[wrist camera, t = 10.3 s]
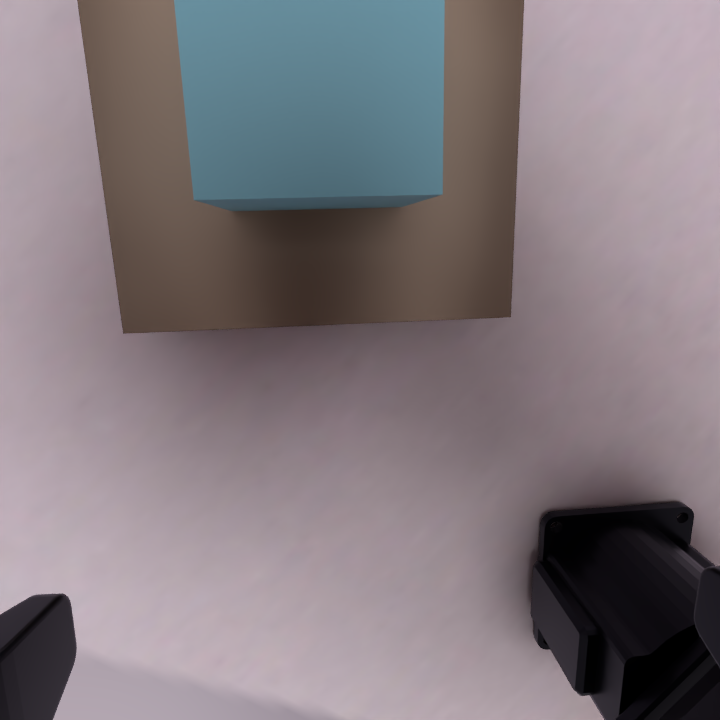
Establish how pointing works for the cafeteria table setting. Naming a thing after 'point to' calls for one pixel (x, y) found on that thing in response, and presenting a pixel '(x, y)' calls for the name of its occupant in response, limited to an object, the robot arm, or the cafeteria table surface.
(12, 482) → the cafeteria table surface
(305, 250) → the walnut base
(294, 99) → the teal cube
